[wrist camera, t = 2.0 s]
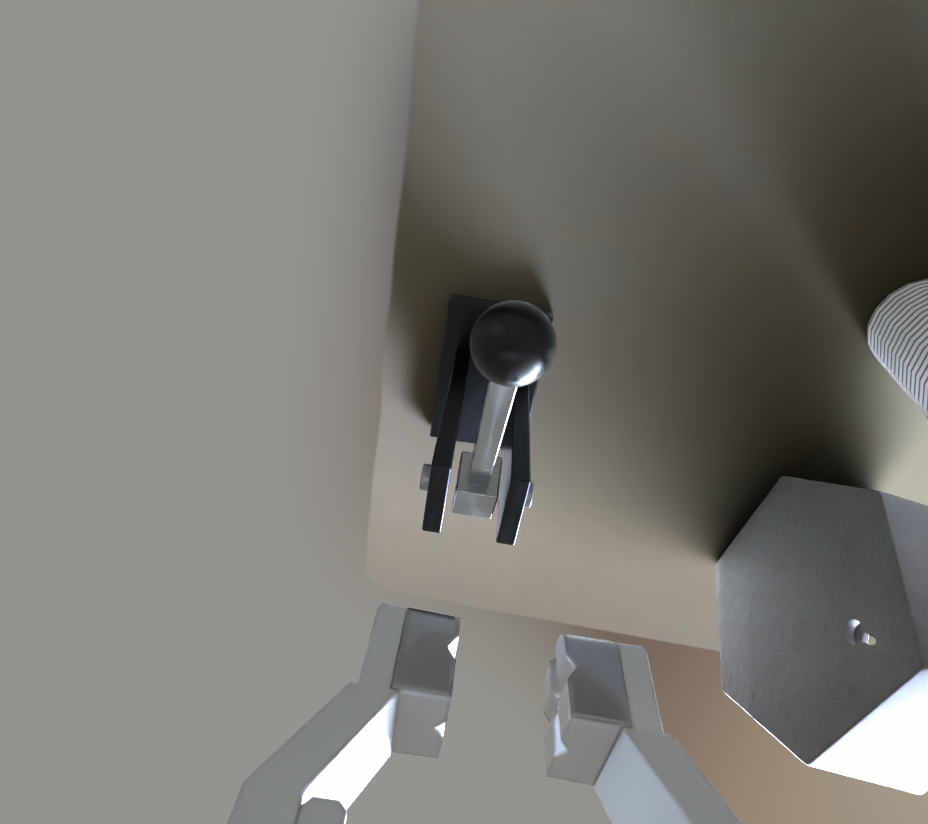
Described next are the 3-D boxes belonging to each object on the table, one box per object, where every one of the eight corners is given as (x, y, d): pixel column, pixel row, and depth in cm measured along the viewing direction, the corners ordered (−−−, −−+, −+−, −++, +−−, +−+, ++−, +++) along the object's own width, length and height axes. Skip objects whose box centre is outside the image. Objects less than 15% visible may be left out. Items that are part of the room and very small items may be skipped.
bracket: (450, 293, 40) (417, 405, 28) (553, 310, 40) (566, 430, 28) (432, 427, 46) (397, 571, 34) (521, 442, 46) (520, 591, 34)
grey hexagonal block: (771, 683, 51) (1013, 864, 31) (688, 661, 51) (877, 830, 30) (823, 493, 52) (1096, 544, 31) (742, 468, 51) (965, 504, 30)
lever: (480, 275, 22) (468, 342, 20) (567, 289, 22) (563, 358, 20) (450, 466, 34) (441, 518, 32) (505, 475, 34) (499, 527, 32)
